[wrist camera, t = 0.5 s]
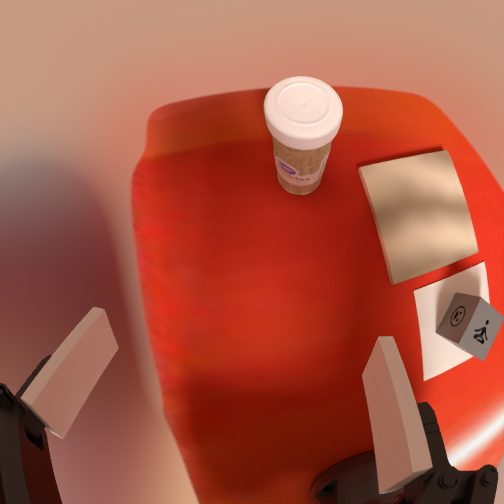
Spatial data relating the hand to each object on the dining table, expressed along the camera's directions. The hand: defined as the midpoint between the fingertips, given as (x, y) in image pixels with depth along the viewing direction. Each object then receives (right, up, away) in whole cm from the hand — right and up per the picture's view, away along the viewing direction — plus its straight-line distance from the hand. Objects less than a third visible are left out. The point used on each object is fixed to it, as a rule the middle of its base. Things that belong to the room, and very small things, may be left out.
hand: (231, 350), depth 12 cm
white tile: (+24, -3, +11) cm, 27 cm away
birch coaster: (+19, +9, +13) cm, 24 cm away
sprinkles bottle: (+6, +12, +15) cm, 20 cm away
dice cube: (+24, -3, +11) cm, 27 cm away
